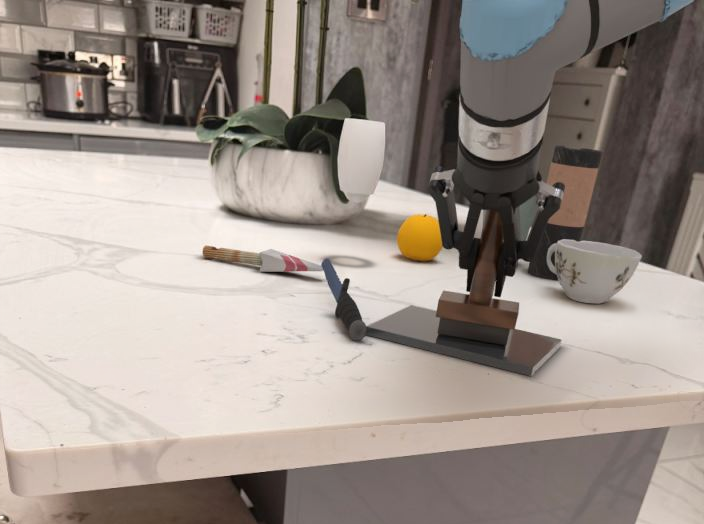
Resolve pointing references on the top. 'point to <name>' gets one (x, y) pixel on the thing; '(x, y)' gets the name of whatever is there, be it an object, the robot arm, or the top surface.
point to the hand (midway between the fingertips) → (485, 284)
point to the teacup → (592, 269)
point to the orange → (420, 238)
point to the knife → (344, 302)
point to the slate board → (465, 341)
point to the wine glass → (360, 158)
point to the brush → (480, 295)
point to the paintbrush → (262, 259)
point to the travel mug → (567, 202)
